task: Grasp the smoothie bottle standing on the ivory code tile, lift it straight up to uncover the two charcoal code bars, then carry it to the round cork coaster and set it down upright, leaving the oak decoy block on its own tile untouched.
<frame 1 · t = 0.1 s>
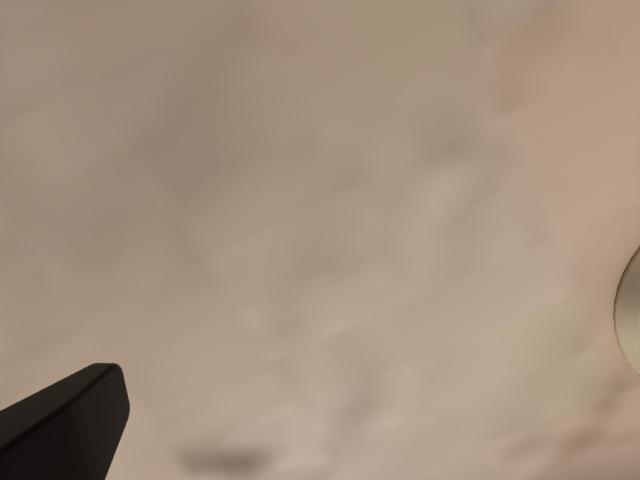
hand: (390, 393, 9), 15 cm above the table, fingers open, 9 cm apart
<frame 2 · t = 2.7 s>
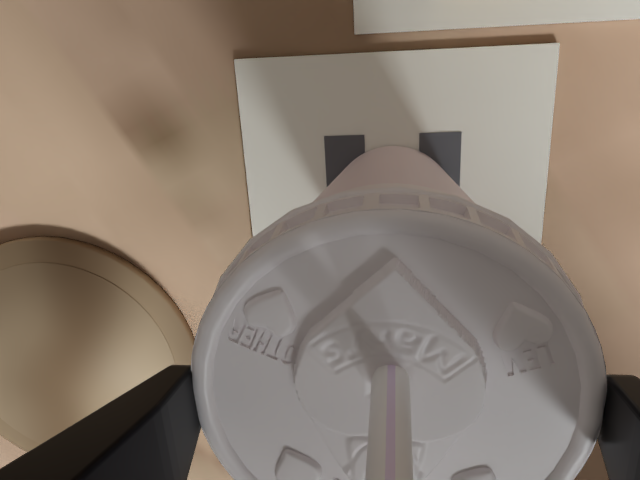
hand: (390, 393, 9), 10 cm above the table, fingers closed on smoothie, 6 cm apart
coaster: (73, 359, 22), on the table
smoothie: (392, 203, 18), resting on code tile, touching gripper
code tile: (392, 203, 18), on the table
when the fingers open (10 cm above the table, at t = 6.4 s): smoothie stays where it is, resting on coaster.
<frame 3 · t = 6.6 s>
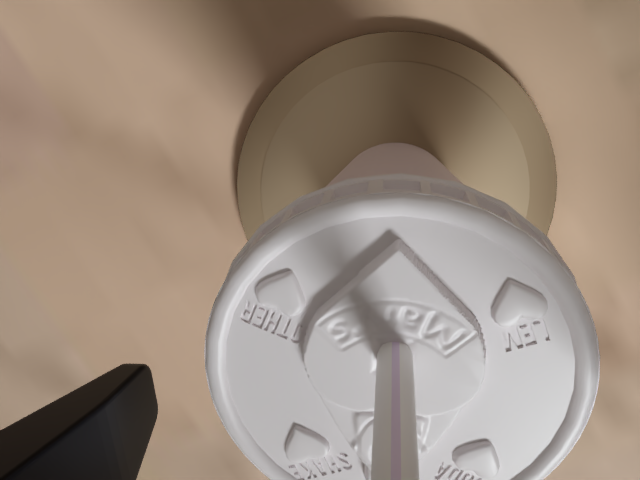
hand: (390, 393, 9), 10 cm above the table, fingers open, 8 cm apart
coaster: (391, 195, 19), on the table
smoothie: (394, 198, 18), resting on coaster
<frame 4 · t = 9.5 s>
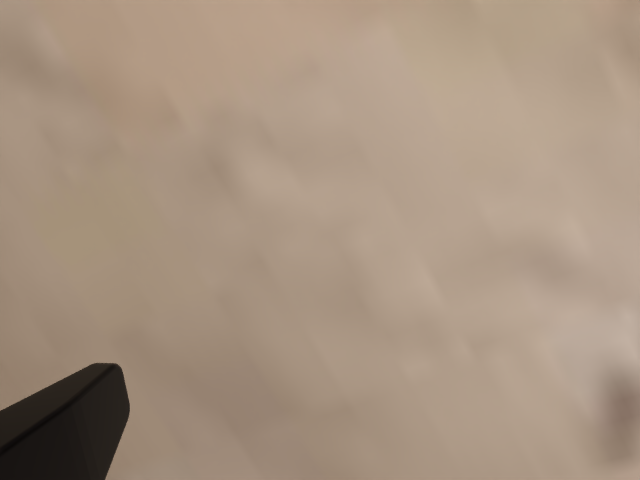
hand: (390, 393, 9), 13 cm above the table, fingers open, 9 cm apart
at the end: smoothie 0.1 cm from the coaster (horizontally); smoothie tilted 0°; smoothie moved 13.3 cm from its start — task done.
